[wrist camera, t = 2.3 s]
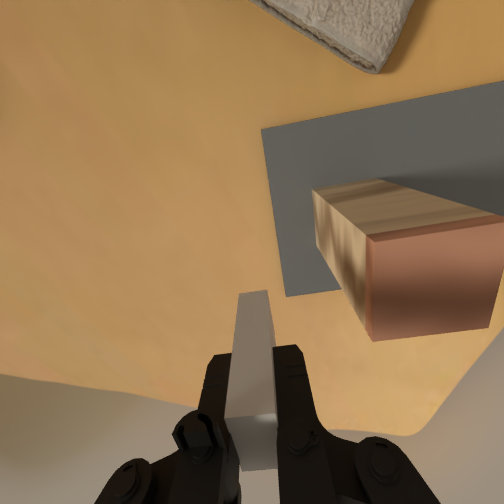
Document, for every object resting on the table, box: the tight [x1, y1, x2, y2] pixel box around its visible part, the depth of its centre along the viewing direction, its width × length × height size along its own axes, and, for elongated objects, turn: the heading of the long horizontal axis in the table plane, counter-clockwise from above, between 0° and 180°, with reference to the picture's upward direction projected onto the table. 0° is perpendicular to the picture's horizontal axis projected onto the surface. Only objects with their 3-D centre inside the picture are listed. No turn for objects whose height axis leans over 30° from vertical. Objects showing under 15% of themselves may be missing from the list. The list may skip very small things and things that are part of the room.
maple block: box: [312, 178, 504, 342], centre depth 19 cm, size 6×6×14 cm
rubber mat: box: [261, 81, 504, 297], centre depth 25 cm, size 18×25×1 cm
